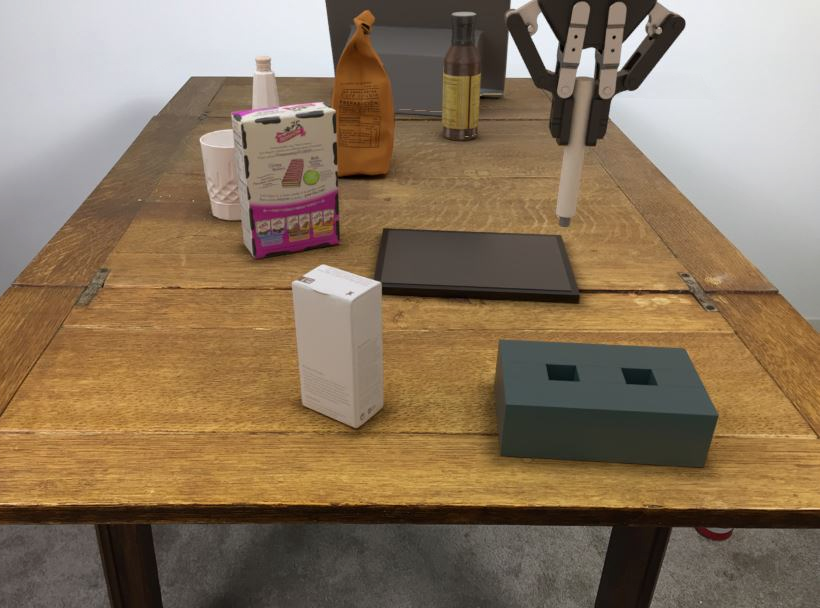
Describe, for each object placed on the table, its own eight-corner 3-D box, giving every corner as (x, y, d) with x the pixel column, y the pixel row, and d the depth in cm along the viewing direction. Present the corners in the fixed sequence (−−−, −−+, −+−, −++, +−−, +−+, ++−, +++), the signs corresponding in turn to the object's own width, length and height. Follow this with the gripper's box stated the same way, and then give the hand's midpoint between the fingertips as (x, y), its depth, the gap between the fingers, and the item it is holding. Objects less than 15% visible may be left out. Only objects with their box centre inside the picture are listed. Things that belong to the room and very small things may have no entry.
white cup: (196, 210, 105) (187, 137, 100) (244, 196, 110) (238, 125, 105) (229, 227, 100) (222, 151, 95) (278, 212, 105) (274, 138, 100)
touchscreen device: (504, 94, 161) (519, -70, 145) (495, 123, 145) (510, -58, 129) (339, 84, 168) (336, -74, 151) (313, 110, 151) (306, -63, 135)
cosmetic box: (385, 406, 67) (388, 280, 61) (354, 433, 64) (354, 302, 58) (328, 383, 70) (325, 260, 64) (296, 407, 67) (289, 280, 61)
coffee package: (397, 155, 126) (401, 8, 115) (391, 182, 115) (394, 22, 104) (336, 153, 127) (334, 7, 116) (324, 179, 116) (320, 21, 105)
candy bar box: (326, 230, 100) (322, 99, 92) (341, 245, 96) (339, 109, 88) (240, 244, 96) (229, 109, 88) (252, 260, 92) (241, 120, 84)
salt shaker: (253, 124, 141) (249, 60, 136) (250, 116, 146) (245, 54, 140) (283, 122, 142) (280, 59, 137) (279, 114, 147) (276, 53, 141)
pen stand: (493, 387, 70) (498, 338, 67) (673, 396, 69) (685, 347, 66) (500, 456, 62) (505, 404, 59) (704, 467, 60) (719, 415, 58)
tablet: (383, 235, 99) (383, 227, 98) (560, 242, 97) (561, 234, 96) (372, 294, 85) (372, 285, 84) (578, 303, 83) (580, 294, 83)
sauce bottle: (468, 129, 139) (476, 9, 129) (483, 139, 134) (493, 15, 124) (434, 132, 137) (440, 10, 127) (448, 143, 132) (455, 16, 122)
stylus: (572, 222, 66) (593, 76, 60) (574, 229, 65) (597, 81, 59) (552, 221, 67) (572, 75, 60) (555, 229, 65) (575, 80, 59)
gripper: (513, -107, 51) (491, 156, 59) (731, -106, 50) (676, 160, 59) (504, -110, 57) (485, 128, 66) (697, -109, 56) (651, 131, 65)
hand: (575, 142), depth 62 cm, fingers closed on stylus, 1 cm apart
